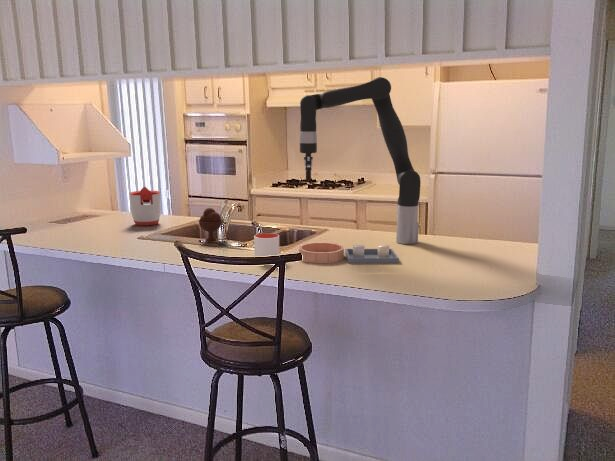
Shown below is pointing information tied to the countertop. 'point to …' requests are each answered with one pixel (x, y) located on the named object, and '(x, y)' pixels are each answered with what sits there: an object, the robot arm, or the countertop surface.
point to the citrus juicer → (145, 207)
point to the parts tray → (371, 257)
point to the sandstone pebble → (383, 251)
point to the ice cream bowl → (210, 223)
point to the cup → (266, 244)
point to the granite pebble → (358, 251)
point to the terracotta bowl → (321, 252)
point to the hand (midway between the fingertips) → (308, 178)
